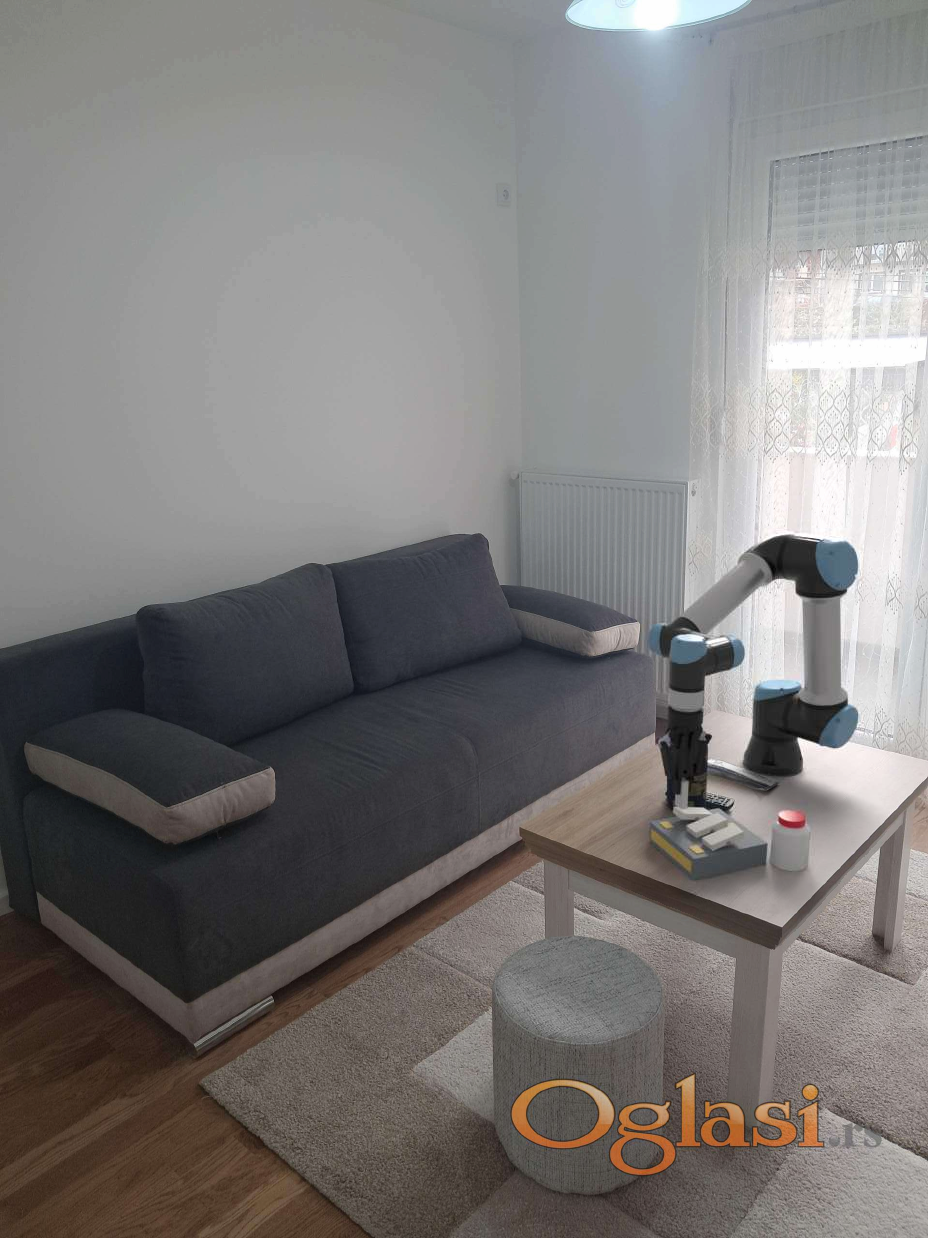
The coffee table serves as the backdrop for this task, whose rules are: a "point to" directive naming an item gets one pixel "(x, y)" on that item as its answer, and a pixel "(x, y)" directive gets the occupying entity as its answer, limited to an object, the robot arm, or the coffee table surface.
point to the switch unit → (706, 848)
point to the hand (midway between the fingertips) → (681, 806)
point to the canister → (697, 787)
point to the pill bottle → (790, 841)
